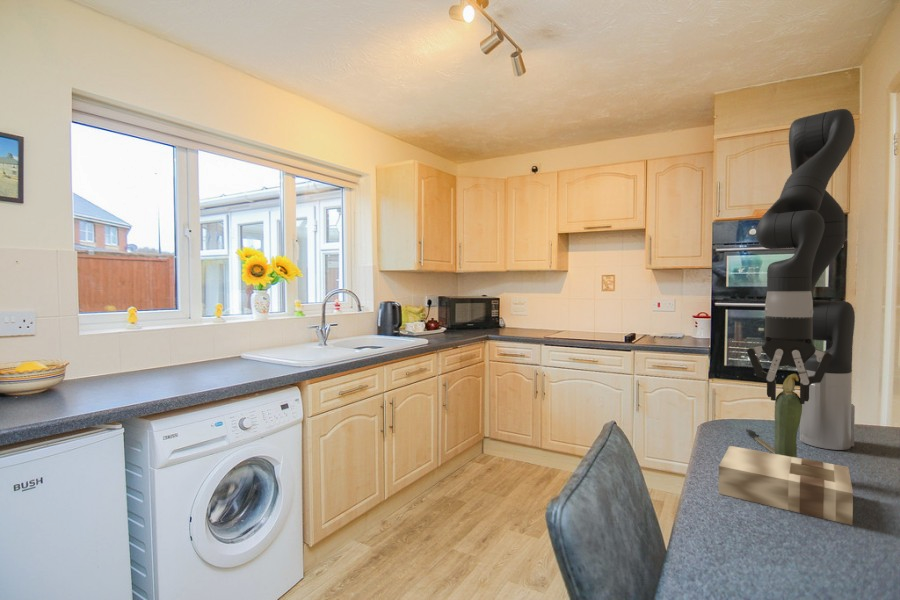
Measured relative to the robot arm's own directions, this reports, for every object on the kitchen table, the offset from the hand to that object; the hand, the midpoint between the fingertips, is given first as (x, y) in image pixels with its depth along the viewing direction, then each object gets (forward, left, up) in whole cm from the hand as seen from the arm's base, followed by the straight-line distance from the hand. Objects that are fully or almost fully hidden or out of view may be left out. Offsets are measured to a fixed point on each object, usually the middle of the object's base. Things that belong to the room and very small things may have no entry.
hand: (787, 401), depth 91 cm
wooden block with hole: (+9, +8, -14) cm, 19 cm away
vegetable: (0, 0, -14) cm, 14 cm away
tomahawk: (-9, -13, -15) cm, 22 cm away
